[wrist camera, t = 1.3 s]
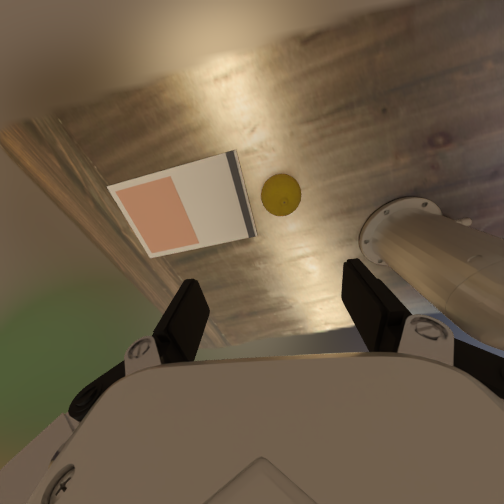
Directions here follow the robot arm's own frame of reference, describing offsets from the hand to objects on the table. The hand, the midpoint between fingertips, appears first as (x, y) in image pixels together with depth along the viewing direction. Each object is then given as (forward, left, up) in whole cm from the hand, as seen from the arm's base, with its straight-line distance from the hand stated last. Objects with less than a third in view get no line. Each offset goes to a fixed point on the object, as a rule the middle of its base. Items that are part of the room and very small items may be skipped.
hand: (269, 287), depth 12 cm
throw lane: (+13, -2, -21) cm, 25 cm away
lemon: (-3, -2, -21) cm, 22 cm away
